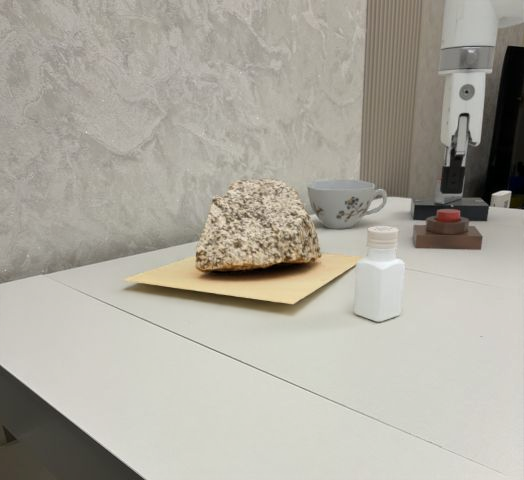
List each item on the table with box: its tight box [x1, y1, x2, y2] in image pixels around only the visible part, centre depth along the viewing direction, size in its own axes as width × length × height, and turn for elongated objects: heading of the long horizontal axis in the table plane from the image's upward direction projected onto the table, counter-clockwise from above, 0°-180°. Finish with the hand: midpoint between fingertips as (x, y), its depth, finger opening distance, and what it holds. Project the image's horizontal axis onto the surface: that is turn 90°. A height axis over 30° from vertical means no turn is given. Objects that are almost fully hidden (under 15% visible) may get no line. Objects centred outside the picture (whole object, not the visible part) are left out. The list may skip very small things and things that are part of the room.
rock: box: [121, 178, 365, 305], centre depth 76 cm, size 28×22×16 cm
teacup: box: [306, 178, 388, 230], centre depth 104 cm, size 15×12×8 cm
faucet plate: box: [409, 196, 490, 222], centre depth 112 cm, size 14×13×3 cm
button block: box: [412, 216, 484, 251], centre depth 90 cm, size 10×8×4 cm
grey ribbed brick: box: [434, 175, 466, 204], centre depth 110 cm, size 9×2×5 cm, turn 139°
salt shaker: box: [353, 225, 406, 323], centre depth 58 cm, size 4×4×10 cm
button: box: [436, 209, 460, 222], centre depth 89 cm, size 4×4×2 cm
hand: (450, 192), depth 87 cm, fingers closed
